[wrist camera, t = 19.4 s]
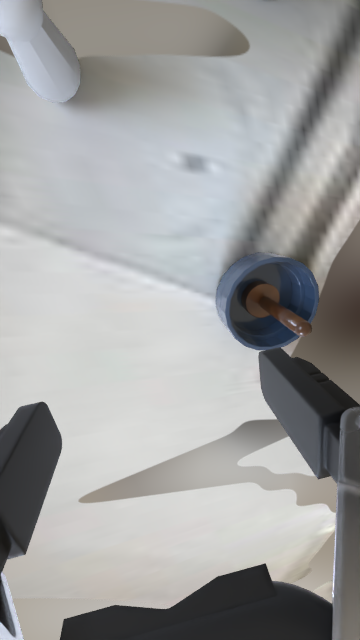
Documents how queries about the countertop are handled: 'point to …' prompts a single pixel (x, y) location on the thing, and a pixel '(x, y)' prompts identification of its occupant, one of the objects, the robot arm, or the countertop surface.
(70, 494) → the countertop surface
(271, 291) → the brown stamp
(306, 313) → the bowl
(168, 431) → the countertop surface
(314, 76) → the countertop surface
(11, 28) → the salt shaker
